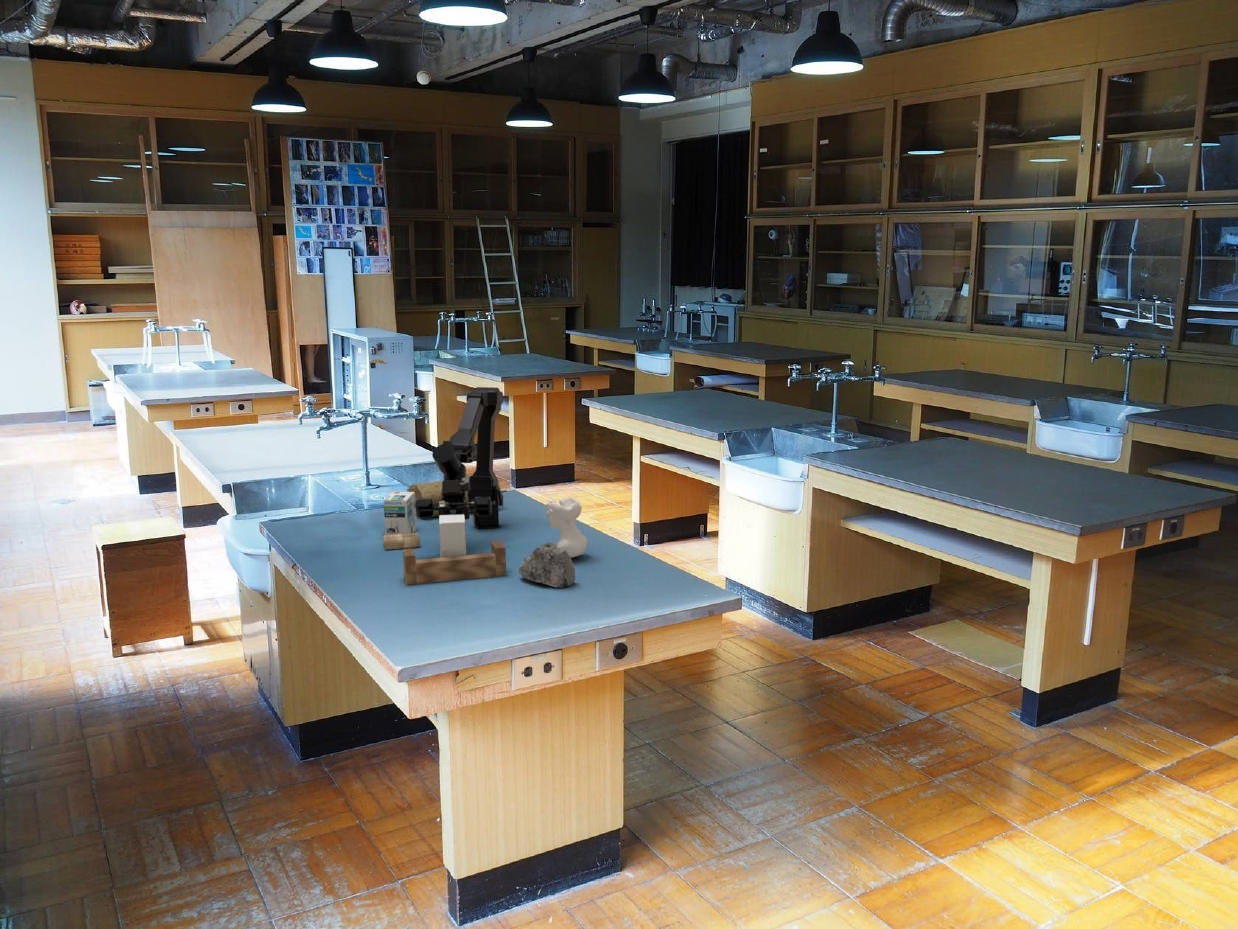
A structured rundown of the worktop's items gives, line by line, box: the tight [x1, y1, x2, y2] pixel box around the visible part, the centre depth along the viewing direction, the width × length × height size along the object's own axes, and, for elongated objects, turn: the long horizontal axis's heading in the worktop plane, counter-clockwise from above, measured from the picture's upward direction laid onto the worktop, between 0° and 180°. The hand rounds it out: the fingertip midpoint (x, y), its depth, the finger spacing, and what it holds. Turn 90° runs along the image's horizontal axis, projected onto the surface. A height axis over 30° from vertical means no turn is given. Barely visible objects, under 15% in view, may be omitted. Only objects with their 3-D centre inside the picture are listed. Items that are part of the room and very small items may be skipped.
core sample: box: [406, 480, 502, 518], centre depth 310 cm, size 14×26×10 cm, turn 119°
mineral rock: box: [518, 541, 576, 589], centre depth 244 cm, size 13×11×10 cm
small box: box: [438, 514, 467, 558], centre depth 254 cm, size 8×6×13 cm
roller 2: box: [383, 535, 421, 551], centre depth 273 cm, size 9×3×3 cm
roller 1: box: [383, 532, 419, 548], centre depth 277 cm, size 9×3×3 cm, turn 107°
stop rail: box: [402, 540, 507, 586], centre depth 249 cm, size 24×6×7 cm, turn 107°
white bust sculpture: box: [545, 497, 588, 559], centre depth 263 cm, size 10×11×15 cm
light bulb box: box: [383, 491, 418, 535], centre depth 286 cm, size 11×7×11 cm, turn 179°
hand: (453, 536), depth 258 cm, fingers closed
